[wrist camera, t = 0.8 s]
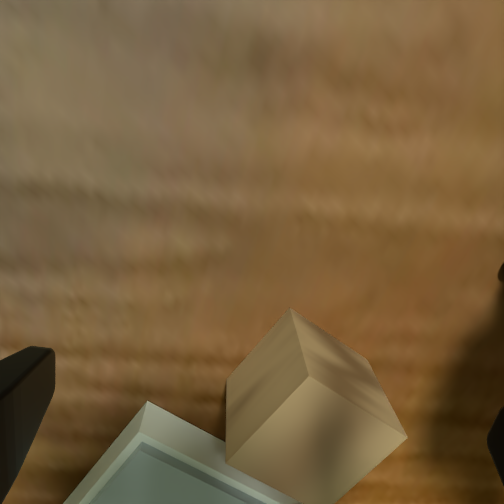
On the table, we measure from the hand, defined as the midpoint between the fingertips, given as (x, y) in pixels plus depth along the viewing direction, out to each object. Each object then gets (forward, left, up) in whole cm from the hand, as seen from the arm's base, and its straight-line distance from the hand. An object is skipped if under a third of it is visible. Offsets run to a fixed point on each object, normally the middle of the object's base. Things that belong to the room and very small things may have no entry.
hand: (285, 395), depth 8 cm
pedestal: (-8, +19, -13) cm, 25 cm away
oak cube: (-8, +6, -13) cm, 17 cm away
